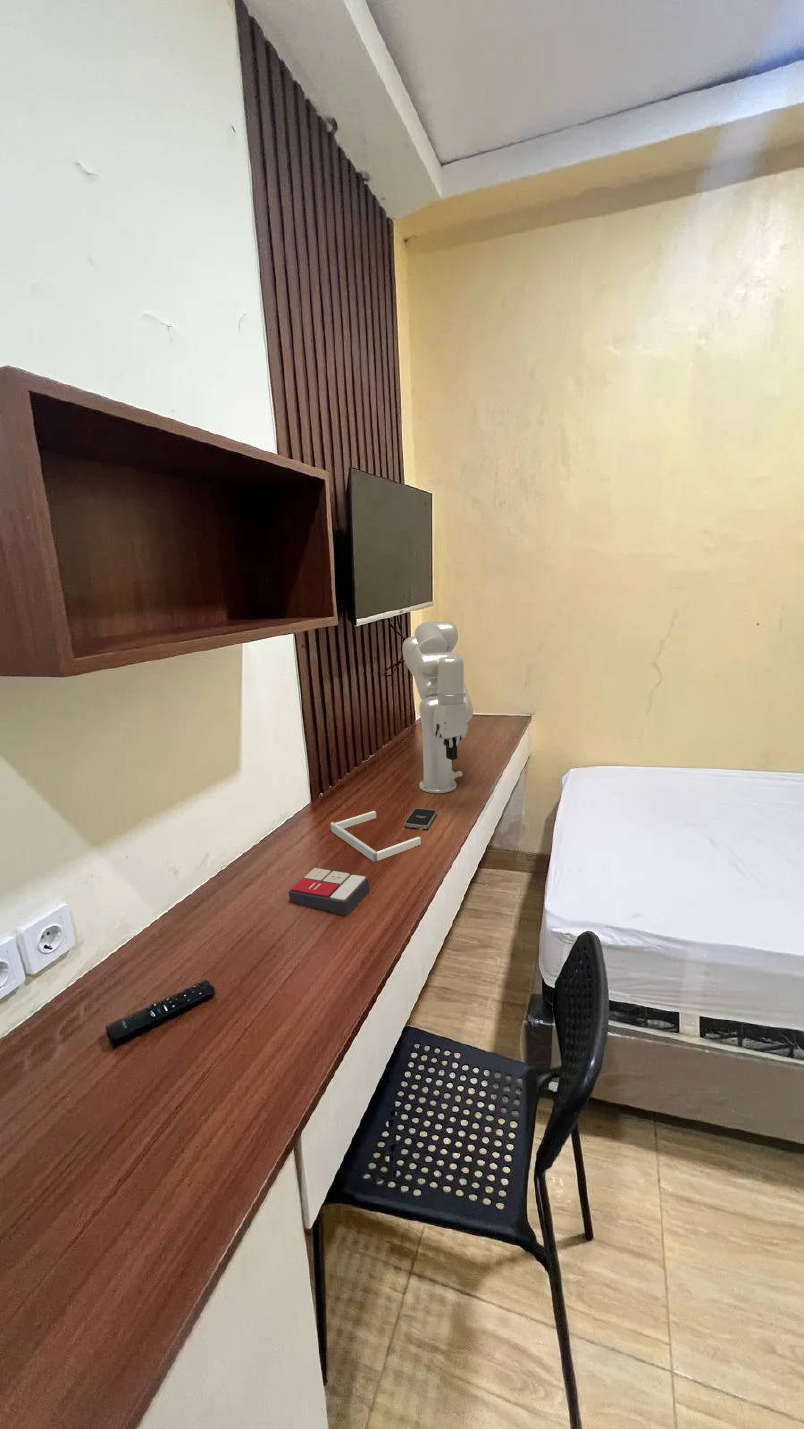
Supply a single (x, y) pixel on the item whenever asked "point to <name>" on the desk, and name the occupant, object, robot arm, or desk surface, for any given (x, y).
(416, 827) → the external hard drive
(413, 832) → the desk surface
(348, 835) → the white u-shaped frame
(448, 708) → the robot arm
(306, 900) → the button keypad
